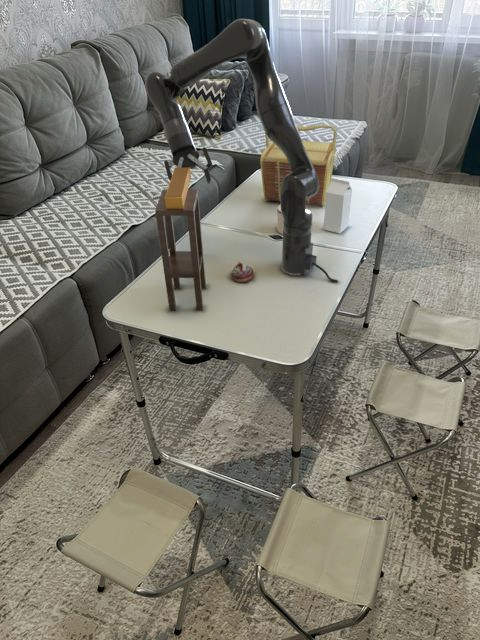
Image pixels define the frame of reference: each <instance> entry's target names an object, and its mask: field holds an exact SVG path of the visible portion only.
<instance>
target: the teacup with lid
mask: <svg viewBox="0 0 480 640" xmlns="http://www.w3.org/2000/svg"><path fill="white" fill-rule="evenodd" d="M276 211H277V227H276V228H277V229H276V230H277V232H278V233H279V234H280V235H283V216H282V213H281V204H279V205H278V206H277V209H276Z"/></svg>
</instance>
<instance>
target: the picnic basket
mask: <svg viewBox="0 0 480 640" xmlns="http://www.w3.org/2000/svg"><path fill="white" fill-rule="evenodd" d="M296 127H297V130H298V132H310V131H314V130H318V129H331V130H332V131H333V137H332V142H324V141H309V140H302V143H303V145H304V148H305V150H306V152H307V154H308V156H309V158H310V161H311V163H312V165H313V167H314V169H315V171H316V173H317V176H318V179H319V190H318V192H317V194H316V195H315V196H313V197H311V198H309V199H308V200H306V204H307V205H318V206H322V207H325V202H326V191H327V189H328V187H329V184H330V182H331V178H333V170H334V165H335V164H334V163H335V157H336V151H337V146H338V145H337V137H338V131H337V130H338V129H337V128H336V127H335V126H334V125H329V124H317V125H315V124H314V125H308V126H300V125H296ZM264 137H265V148H264V150H263V151H262V153H261V155H260V160H259V164H260V173H261V181H262V193H263V198H264V201H265V202H268V201H273V202H281V200H280V187H281V182H282V179H283V178H284V177H285V176H286V175H288V174H290V173H292V170H291V167H290V165H289V162H288V160H287V158H286V156H285V155H284V153H283V152H282V151H281V150H280V149H279V148H278V147H277V146H276V145H275V144H274V143H273V142H272V141H271V140H270V138H269V137H268V136H267V134H266V133H265V132H264ZM306 204H305V205H306Z"/></svg>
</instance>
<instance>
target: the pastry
mask: <svg viewBox="0 0 480 640" xmlns="http://www.w3.org/2000/svg"><path fill="white" fill-rule="evenodd" d="M254 276H255V271H254V268H252V267H251V266H248V265H246V264H244V263H242V262H240V261H239V262H237V264H236V265H235V266H234V267H233V270H232V272H231V274H230V277H231V279H232V280H233V281H234V282H237V283H248V282H250V281H252V279H253V278H254Z"/></svg>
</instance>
